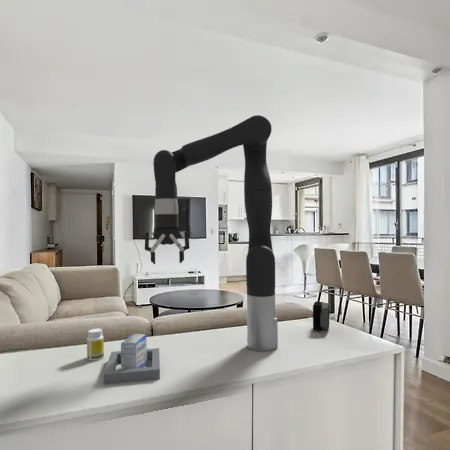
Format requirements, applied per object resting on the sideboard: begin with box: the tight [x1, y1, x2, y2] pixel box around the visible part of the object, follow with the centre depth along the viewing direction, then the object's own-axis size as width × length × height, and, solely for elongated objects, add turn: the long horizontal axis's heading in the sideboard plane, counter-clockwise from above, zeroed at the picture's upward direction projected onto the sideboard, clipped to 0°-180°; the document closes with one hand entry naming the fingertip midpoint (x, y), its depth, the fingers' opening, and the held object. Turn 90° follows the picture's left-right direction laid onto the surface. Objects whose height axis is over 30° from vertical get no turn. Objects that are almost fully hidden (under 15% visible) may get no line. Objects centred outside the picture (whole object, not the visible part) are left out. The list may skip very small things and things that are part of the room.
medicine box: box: [120, 333, 148, 370], centre depth 96 cm, size 8×4×9 cm, turn 173°
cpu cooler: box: [312, 301, 330, 332], centre depth 131 cm, size 10×6×10 cm, turn 159°
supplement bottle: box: [86, 328, 105, 362], centre depth 104 cm, size 5×5×8 cm
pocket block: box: [102, 347, 161, 385], centre depth 96 cm, size 14×16×2 cm
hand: (167, 263), depth 111 cm, fingers open, 8 cm apart
